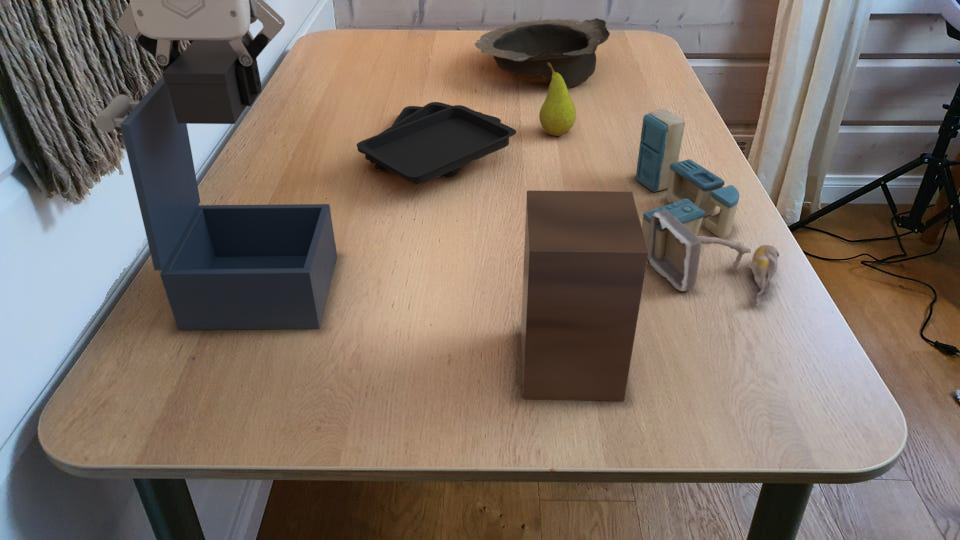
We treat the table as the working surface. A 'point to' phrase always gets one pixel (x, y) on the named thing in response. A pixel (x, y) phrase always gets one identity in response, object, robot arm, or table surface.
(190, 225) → the storage box
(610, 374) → the stand
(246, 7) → the robot arm
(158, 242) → the box lid
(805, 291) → the table surface
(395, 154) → the tray
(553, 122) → the fruit
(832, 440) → the table surface
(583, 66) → the stone bowl
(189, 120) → the dark grey rectangular block
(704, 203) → the toy kitchen set
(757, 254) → the decorative sculpture
